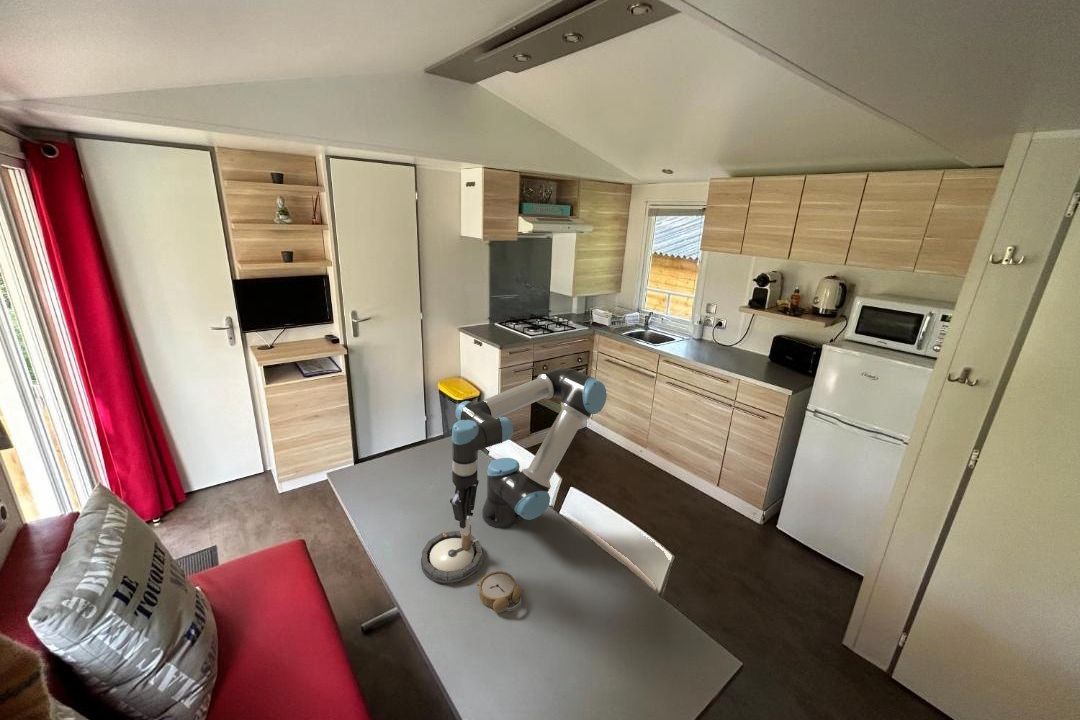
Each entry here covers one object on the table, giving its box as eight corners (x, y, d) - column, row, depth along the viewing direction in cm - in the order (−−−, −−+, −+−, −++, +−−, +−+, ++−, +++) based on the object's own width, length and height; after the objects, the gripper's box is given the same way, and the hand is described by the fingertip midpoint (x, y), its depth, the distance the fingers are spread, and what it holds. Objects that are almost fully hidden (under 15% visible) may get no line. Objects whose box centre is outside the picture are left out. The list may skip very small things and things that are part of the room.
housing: (477, 533, 157) (477, 525, 156) (487, 577, 139) (487, 568, 138) (419, 543, 151) (419, 534, 150) (422, 590, 133) (422, 580, 132)
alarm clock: (499, 565, 141) (530, 587, 130) (501, 578, 142) (531, 602, 131) (470, 583, 133) (500, 609, 122) (472, 597, 134) (502, 624, 123)
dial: (441, 580, 135) (440, 556, 132) (422, 551, 146) (421, 528, 143) (481, 560, 144) (482, 537, 140) (461, 534, 154) (461, 512, 151)
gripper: (465, 456, 138) (465, 517, 146) (441, 477, 126) (442, 542, 134) (486, 462, 135) (485, 524, 143) (463, 485, 124) (463, 550, 132)
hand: (464, 533), depth 139 cm, fingers closed
